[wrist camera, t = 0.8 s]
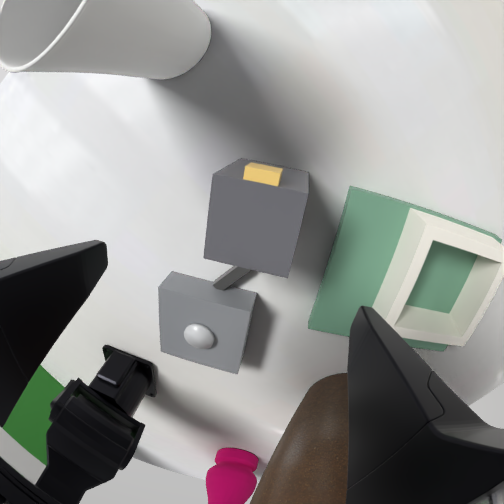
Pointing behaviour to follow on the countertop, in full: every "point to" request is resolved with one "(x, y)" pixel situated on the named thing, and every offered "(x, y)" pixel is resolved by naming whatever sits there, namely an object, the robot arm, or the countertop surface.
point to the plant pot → (311, 450)
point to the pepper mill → (231, 477)
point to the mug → (103, 36)
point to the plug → (256, 216)
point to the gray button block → (205, 319)
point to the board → (408, 272)
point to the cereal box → (30, 426)
